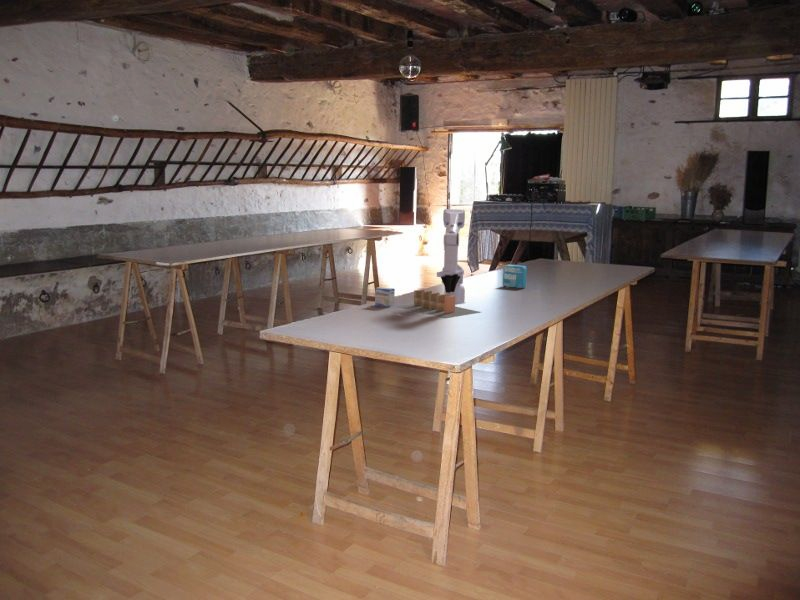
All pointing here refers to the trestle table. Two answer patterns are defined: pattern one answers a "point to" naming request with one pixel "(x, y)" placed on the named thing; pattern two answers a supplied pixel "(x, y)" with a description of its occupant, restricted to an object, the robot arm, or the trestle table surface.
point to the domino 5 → (449, 304)
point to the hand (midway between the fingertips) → (450, 292)
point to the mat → (433, 312)
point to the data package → (514, 276)
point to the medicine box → (384, 297)
